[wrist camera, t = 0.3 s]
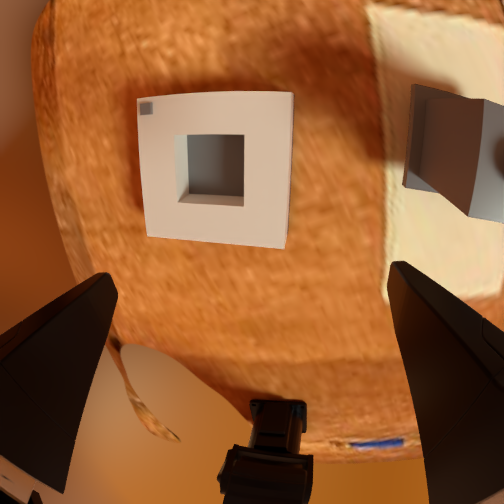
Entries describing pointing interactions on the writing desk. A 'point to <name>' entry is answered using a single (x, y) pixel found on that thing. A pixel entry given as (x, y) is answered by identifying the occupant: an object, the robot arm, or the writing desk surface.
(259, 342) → the writing desk surface
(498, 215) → the grey block with knob
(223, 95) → the socket
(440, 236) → the writing desk surface
